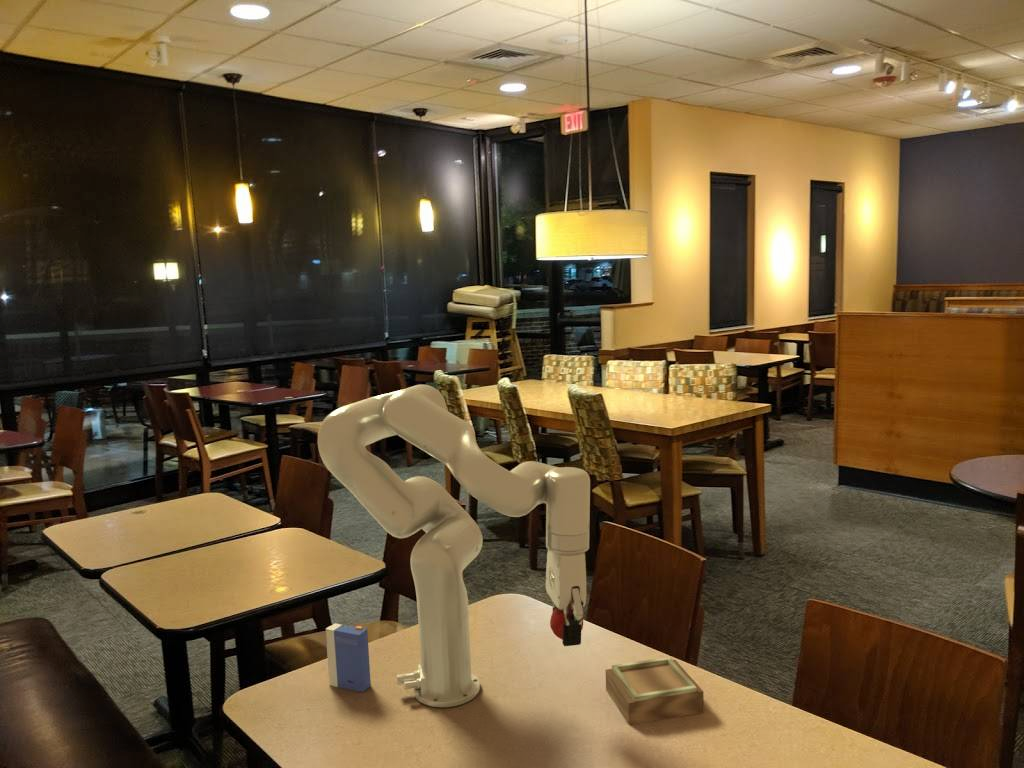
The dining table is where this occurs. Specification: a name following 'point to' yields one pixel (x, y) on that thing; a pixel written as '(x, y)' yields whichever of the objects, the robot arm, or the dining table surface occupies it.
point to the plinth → (653, 690)
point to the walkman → (348, 657)
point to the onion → (560, 621)
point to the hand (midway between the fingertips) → (566, 635)
